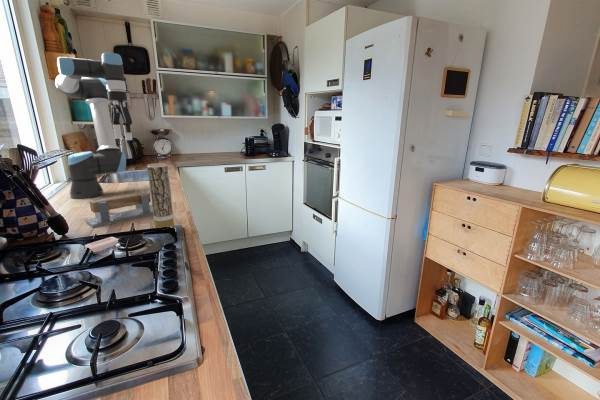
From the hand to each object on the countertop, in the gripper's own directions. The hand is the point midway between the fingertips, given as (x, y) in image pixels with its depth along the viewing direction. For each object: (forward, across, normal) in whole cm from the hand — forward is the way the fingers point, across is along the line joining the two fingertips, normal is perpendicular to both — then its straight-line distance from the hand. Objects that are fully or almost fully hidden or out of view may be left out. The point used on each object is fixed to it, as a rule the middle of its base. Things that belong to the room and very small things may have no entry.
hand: (123, 139), depth 142 cm
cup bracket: (+32, +18, -10) cm, 38 cm away
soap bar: (+32, +47, -26) cm, 63 cm away
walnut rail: (+27, +18, -10) cm, 34 cm away
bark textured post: (+32, +44, -4) cm, 54 cm away
